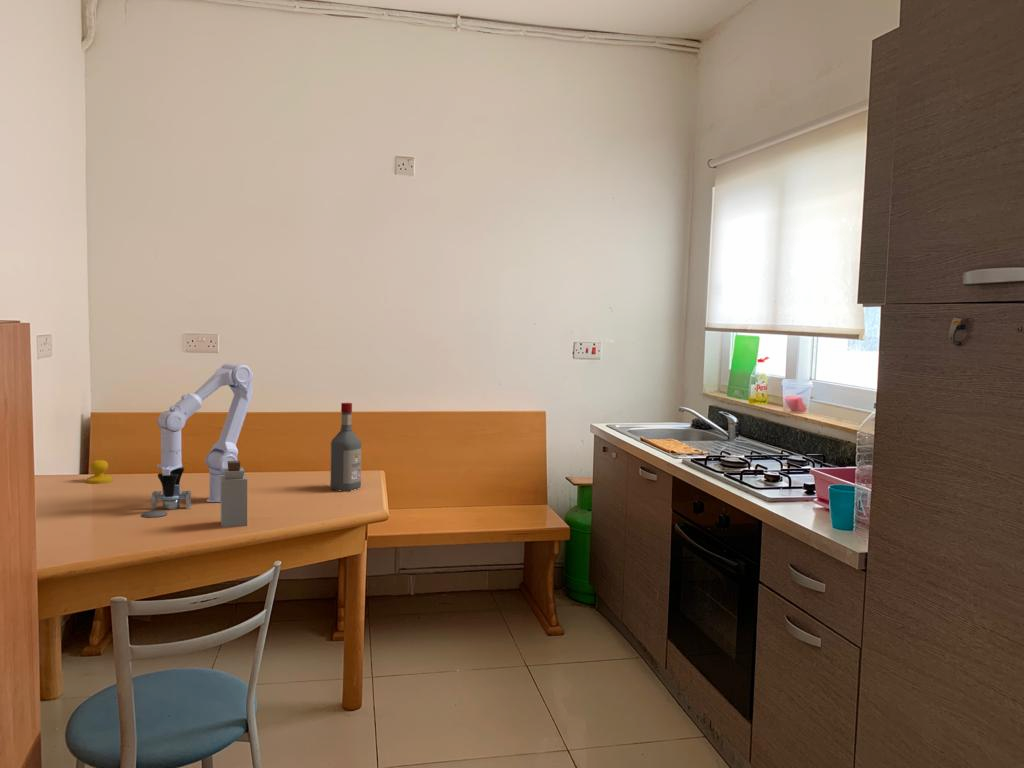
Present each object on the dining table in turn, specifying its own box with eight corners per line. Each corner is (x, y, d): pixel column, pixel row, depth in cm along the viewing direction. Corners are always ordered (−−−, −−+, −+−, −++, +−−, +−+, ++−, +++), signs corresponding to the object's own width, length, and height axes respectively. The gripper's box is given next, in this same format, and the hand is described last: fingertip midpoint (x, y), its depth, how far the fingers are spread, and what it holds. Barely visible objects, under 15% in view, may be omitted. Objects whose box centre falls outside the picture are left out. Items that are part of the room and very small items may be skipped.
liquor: (364, 487, 278) (365, 403, 275) (347, 492, 269) (348, 405, 267) (343, 484, 282) (344, 401, 279) (326, 489, 274) (327, 403, 271)
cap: (187, 496, 245) (187, 483, 245) (183, 500, 240) (183, 487, 239) (159, 496, 244) (159, 483, 243) (155, 500, 238) (155, 487, 238)
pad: (170, 511, 238) (170, 510, 238) (164, 517, 231) (164, 516, 231) (145, 511, 236) (145, 510, 236) (138, 517, 229) (138, 516, 229)
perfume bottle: (220, 521, 228) (220, 460, 227) (245, 519, 231) (245, 459, 229) (221, 527, 222) (221, 464, 220) (247, 525, 225) (247, 463, 223)
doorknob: (117, 480, 277) (96, 484, 270) (102, 478, 280) (81, 481, 273) (117, 459, 276) (96, 463, 269) (101, 457, 280) (81, 460, 273)
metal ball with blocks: (191, 505, 245) (191, 489, 245) (188, 509, 240) (188, 493, 240) (154, 506, 243) (154, 490, 243) (150, 510, 238) (150, 494, 238)
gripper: (162, 446, 247) (163, 489, 248) (151, 454, 232) (151, 499, 234) (186, 446, 248) (186, 488, 249) (176, 454, 234) (176, 499, 235)
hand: (171, 494), depth 241 cm, fingers open, 6 cm apart
